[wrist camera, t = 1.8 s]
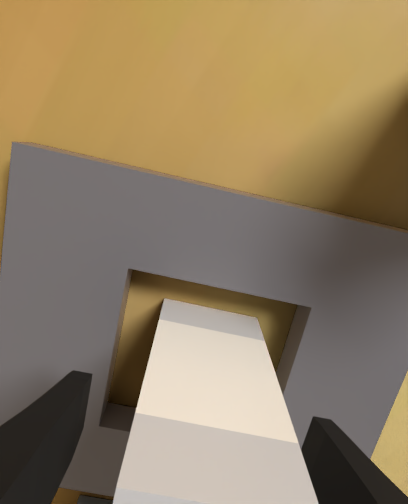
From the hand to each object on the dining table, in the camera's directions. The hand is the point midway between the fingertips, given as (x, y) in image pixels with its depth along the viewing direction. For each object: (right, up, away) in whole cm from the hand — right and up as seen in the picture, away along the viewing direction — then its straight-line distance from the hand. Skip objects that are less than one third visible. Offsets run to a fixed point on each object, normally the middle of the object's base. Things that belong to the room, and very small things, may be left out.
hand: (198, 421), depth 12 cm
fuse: (0, +1, +4) cm, 5 cm away
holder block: (0, +1, +4) cm, 4 cm away
